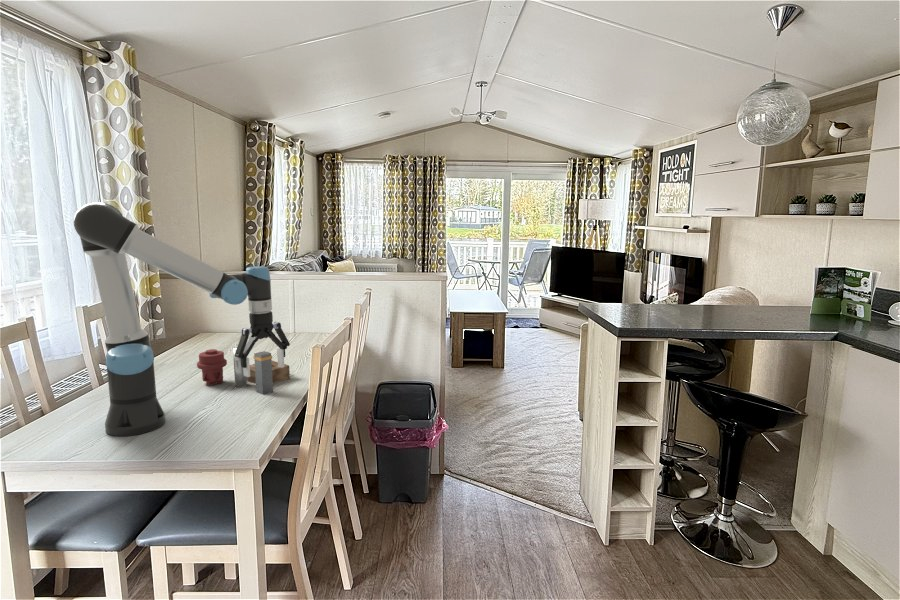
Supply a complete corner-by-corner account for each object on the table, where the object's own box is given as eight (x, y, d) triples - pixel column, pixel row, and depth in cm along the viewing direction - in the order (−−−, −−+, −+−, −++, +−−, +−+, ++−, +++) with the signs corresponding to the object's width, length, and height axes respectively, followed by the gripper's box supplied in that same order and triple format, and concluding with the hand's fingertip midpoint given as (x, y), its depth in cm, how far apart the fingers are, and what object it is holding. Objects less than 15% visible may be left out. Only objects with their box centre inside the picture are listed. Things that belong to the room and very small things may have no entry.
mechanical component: (233, 379, 199) (216, 388, 190) (209, 378, 201) (192, 386, 192) (231, 348, 197) (214, 354, 188) (207, 346, 199) (189, 353, 190)
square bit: (262, 394, 184) (260, 355, 181) (255, 392, 186) (253, 353, 184) (273, 391, 187) (272, 352, 185) (266, 388, 190) (264, 350, 188)
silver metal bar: (239, 387, 191) (236, 349, 189) (232, 385, 193) (230, 348, 191) (249, 384, 194) (247, 347, 192) (242, 382, 196) (240, 345, 194)
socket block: (262, 386, 193) (261, 372, 192) (243, 379, 200) (242, 366, 199) (289, 378, 202) (289, 365, 201) (270, 372, 209) (270, 360, 208)
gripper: (233, 319, 170) (238, 382, 174) (297, 307, 190) (300, 364, 193) (220, 316, 174) (225, 378, 178) (284, 305, 194) (288, 361, 198)
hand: (264, 371), depth 186 cm, fingers open, 13 cm apart
